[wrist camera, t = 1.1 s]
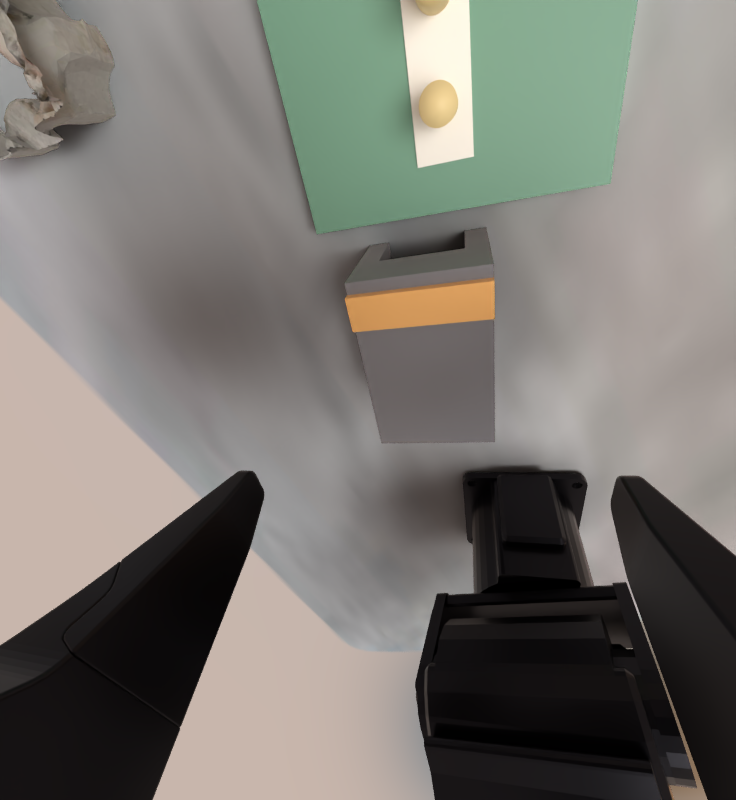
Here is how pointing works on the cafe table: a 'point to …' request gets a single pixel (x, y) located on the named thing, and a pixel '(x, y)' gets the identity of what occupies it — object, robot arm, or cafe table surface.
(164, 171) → the cafe table surface
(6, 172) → the cafe table surface
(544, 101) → the board
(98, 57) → the egg carton
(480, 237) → the plug housing
